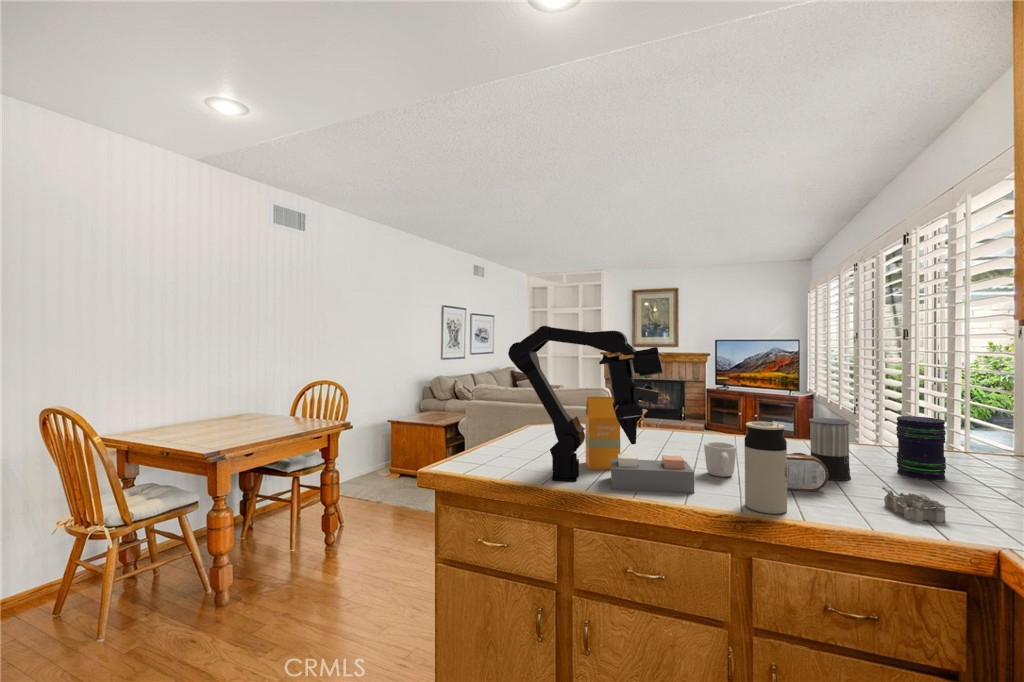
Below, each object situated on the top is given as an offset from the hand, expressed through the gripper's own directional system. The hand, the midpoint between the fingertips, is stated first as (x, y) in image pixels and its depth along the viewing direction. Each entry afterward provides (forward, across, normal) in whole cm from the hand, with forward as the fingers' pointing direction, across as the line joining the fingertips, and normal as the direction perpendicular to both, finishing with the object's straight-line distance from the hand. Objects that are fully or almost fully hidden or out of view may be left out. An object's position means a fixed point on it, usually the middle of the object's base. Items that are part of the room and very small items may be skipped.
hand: (632, 440), depth 118 cm
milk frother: (+18, +19, -47) cm, 54 cm away
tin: (+17, +2, -36) cm, 39 cm away
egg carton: (+20, -11, -54) cm, 58 cm away
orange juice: (+9, +17, +9) cm, 21 cm away
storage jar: (+22, +20, -73) cm, 79 cm away
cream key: (+8, 0, +2) cm, 8 cm away
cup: (+14, +11, -22) cm, 28 cm away
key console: (+11, 0, -2) cm, 12 cm away
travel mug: (+16, -13, -25) cm, 32 cm away
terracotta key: (+9, 0, -8) cm, 13 cm away
